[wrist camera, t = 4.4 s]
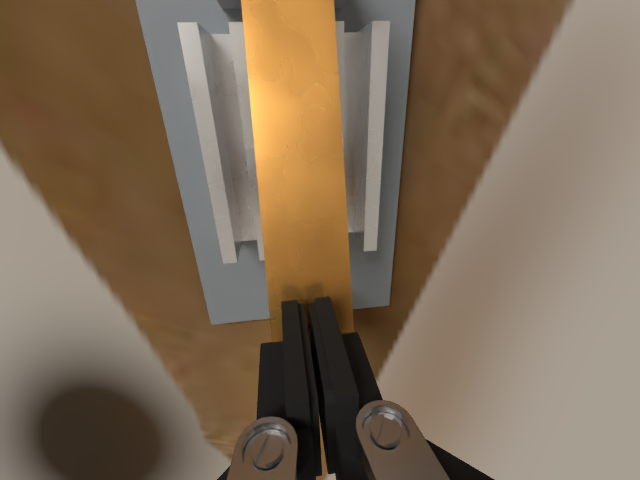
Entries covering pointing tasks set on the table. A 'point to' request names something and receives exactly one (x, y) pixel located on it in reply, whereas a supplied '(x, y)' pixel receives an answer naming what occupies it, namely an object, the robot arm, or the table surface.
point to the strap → (299, 154)
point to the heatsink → (237, 132)
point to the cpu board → (178, 114)
